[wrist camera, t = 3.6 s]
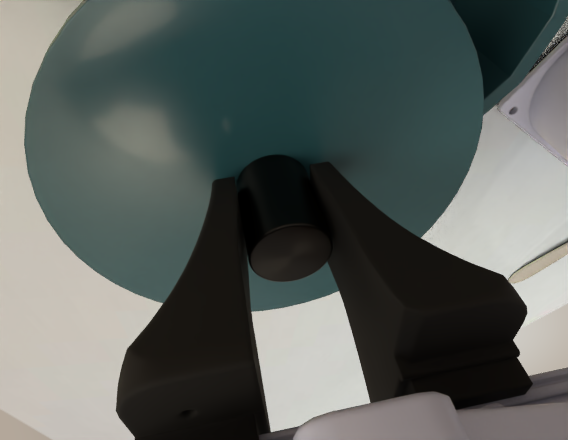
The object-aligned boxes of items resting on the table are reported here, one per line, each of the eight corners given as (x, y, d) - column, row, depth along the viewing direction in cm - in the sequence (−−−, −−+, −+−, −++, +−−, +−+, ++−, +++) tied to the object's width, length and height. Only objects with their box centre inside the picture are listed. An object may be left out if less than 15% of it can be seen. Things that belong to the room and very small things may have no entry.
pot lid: (537, 121, 16) (623, 196, 13) (283, 323, 22) (301, 406, 19) (222, -278, 8) (255, -319, 5) (-42, 213, 14) (-98, 325, 11)
